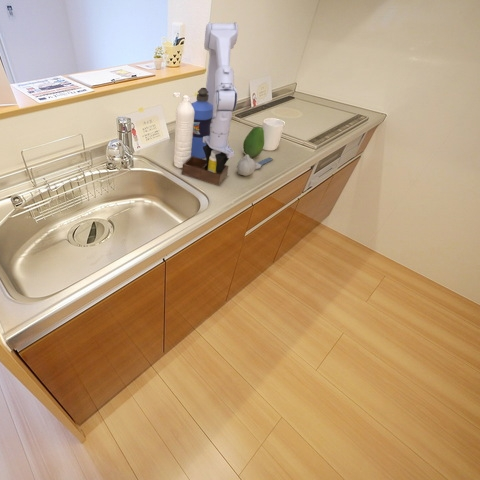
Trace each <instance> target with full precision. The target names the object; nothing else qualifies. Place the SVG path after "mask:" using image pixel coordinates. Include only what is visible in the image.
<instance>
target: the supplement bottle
mask: <svg viewBox="0 0 480 480" xmlns="http://www.w3.org/2000/svg"><path fill="white" fill-rule="evenodd" d="M219 153H221V152H220V151H217V150H212V151H211V156H210V157H209V164H208V170H207V171H210V172H214V173H217V172H216V164H217V163H216V157H215V155H216V154H219ZM217 174H220V172H219V173H217Z"/></svg>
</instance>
